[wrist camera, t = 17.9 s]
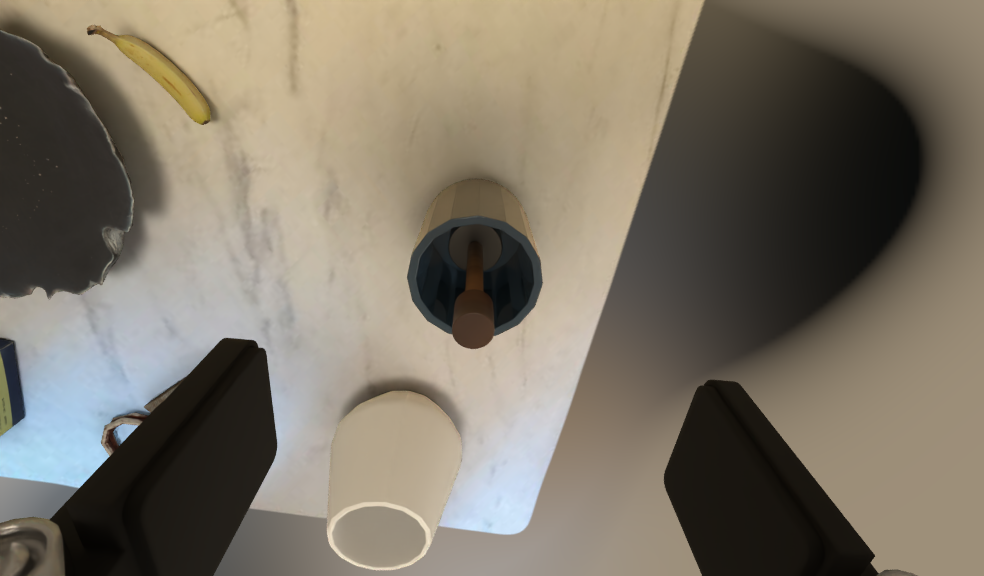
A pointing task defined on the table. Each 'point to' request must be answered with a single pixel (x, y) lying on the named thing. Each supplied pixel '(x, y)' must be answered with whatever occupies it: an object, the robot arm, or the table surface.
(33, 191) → the board
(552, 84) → the table surface
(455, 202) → the container
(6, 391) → the protein box
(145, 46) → the banana
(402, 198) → the table surface
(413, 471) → the cup
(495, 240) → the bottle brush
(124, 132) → the table surface
